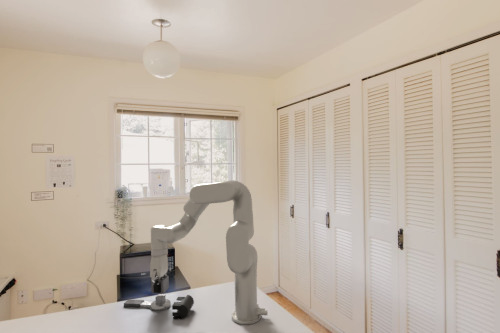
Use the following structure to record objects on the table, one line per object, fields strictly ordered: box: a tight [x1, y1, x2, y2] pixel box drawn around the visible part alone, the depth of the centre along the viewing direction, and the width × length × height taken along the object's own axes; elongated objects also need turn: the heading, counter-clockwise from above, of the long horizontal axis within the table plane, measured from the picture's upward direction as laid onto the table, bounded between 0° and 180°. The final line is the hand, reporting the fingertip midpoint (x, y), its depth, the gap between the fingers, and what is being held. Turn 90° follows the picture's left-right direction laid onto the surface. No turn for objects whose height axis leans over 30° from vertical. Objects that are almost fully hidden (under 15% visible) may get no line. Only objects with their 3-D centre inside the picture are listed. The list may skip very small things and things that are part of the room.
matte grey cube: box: [150, 275, 170, 294], centre depth 141 cm, size 6×6×6 cm
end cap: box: [171, 294, 195, 320], centre depth 133 cm, size 10×7×7 cm
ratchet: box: [123, 293, 172, 312], centre depth 142 cm, size 22×9×5 cm, turn 82°
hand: (160, 289), depth 141 cm, fingers closed on matte grey cube, 6 cm apart
